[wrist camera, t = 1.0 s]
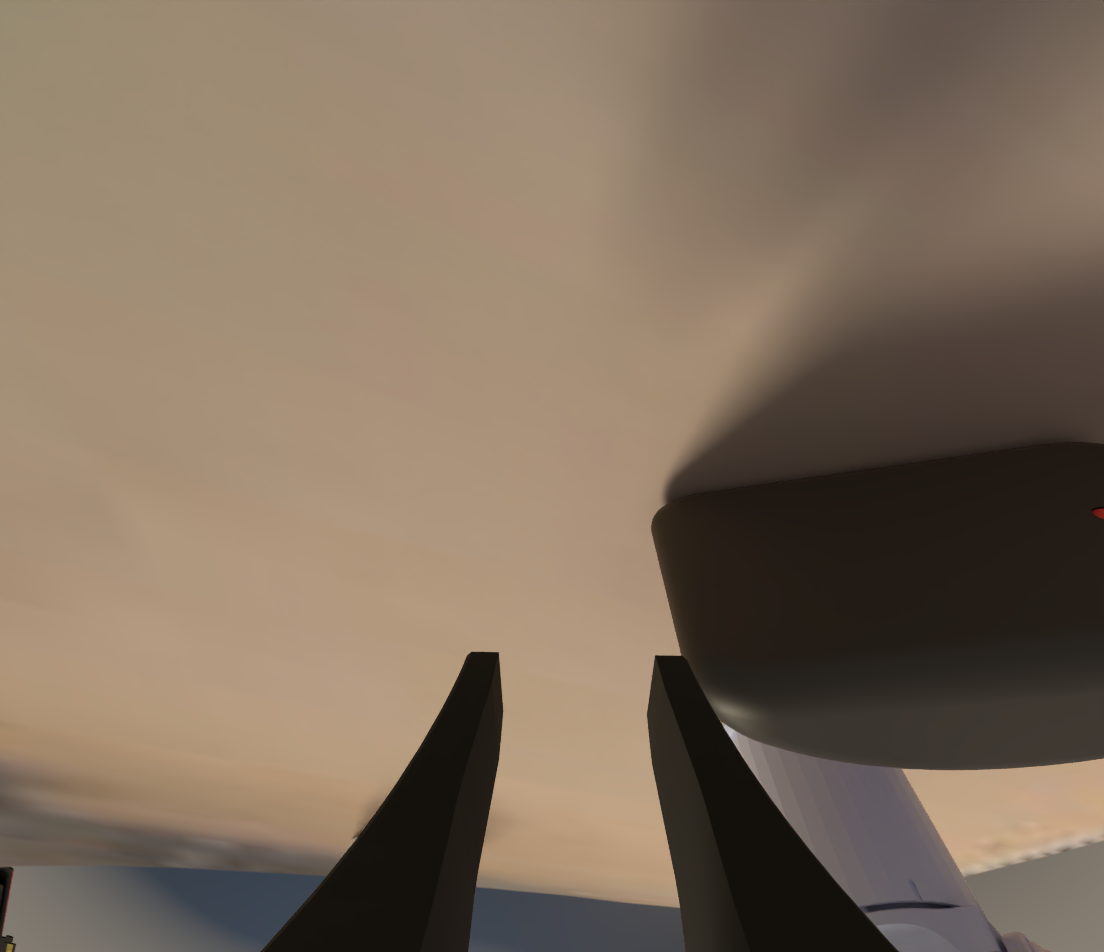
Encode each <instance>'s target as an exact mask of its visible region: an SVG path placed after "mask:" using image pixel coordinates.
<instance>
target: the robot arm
mask: <svg viewBox="0 0 1104 952" xmlns="http://www.w3.org/2000/svg"><path fill="white" fill-rule="evenodd" d="M502 719H503V702H502V689H501V676H500V663H499V652H471V653H470V654H468V655H467V657H466V660H465V662H464V665H463V667H462V669H461V671H460V673H459V676H458V678H457V680H456V682H455V684H454V686H453V688H452V690H451V692H450V694H449V696H448V698H447V700H446V702H445V704H444V705H443V707H442V709H441V711H440V713H439V715H438V716H437V718H436V720H435V722H434V723H433V725H432V727H431V729H430V730H429V732H428V734H427V736H426V737H425V739H424V741H423V742H422V744H421V746H420V747H419V749H418V751H417V752H416V754H415V755H414V757H413V758H412V760H411V761H410V763H409V765H408V766H407V768H406V769H405V771H404V772H403V774H402V775H401V777H400V779H399V780H398V782H397V783H396V785H395V786H394V788H393V789H392V791H391V792H390V793H389V795H388V796H387V798H386V799H385V801H384V802H383V804H382V805H381V806H380V808H379V809H378V811H377V812H376V813H375V815H374V816H373V817H372V819H371V820H370V821H369V823H368V824H367V826H366V827H365V828H364V830H363V831H362V832H361V834H360V835H359V836H358V838H357V839H356V840H355V841H354V843H353V844H352V845H351V846H350V848H349V849H348V850H347V852H346V853H345V854H344V855H343V857H342V858H341V859H340V860H339V862H338V863H337V864H336V866H335V867H334V868H333V869H332V871H331V872H330V873H329V874H328V875H327V877H326V878H325V879H324V880H323V882H322V883H321V884H320V885H319V886H318V887H317V889H316V890H315V891H314V892H313V893H312V895H311V896H310V897H309V898H308V899H307V900H306V901H305V902H304V904H303V905H302V906H301V907H300V908H299V909H298V910H297V912H296V913H295V914H294V915H293V916H292V917H291V918H290V919H289V921H288V922H287V923H286V924H285V925H284V926H283V927H282V928H281V930H280V931H279V932H278V933H277V934H276V935H275V936H274V937H273V939H272V940H271V941H270V942H269V943H268V944H267V946H265V948H264V949H263V950H262V951H261V952H468V947H469V939H470V929H471V920H472V910H473V902H474V894H475V888H476V881H477V875H478V869H479V863H480V858H481V853H482V847H483V842H484V837H485V831H486V826H487V821H488V815H489V810H490V805H491V799H492V794H493V788H494V783H495V778H496V772H497V767H498V761H499V752H500V742H501V731H502ZM647 719H648V729H649V739H650V749H651V758H652V765H653V770H654V775H655V780H656V785H657V790H658V795H659V800H660V805H661V810H662V815H663V820H664V825H665V830H666V835H667V839H668V844H669V849H670V854H671V859H672V864H673V869H674V874H675V879H676V885H677V891H678V897H679V902H680V910H681V918H682V926H683V933H684V942H685V950H686V952H1050V951H1049V950H1047V949H1045V948H1043V947H1042V946H1040V945H1038V944H1036V943H1035V942H1030V941H1029V940H1028V939H1027V937H1026V936H1025V935H1024V934H1022V933H1020V932H1012V933H1008V934H1004V935H1003V937H1002V936H1001V935H1000V933H999V932H998V931H997V930H996V929H995V928H994V926H993V925H992V924H991V923H990V922H989V920H988V919H987V917H986V916H985V914H984V912H983V910H982V909H981V907H980V905H979V903H978V902H977V900H976V898H975V896H974V895H973V893H972V891H971V889H970V888H969V886H968V884H967V882H966V881H965V879H964V877H963V875H962V874H961V872H960V870H959V868H958V867H957V865H956V863H955V861H954V860H953V858H952V856H951V854H950V853H949V851H948V849H947V847H946V846H945V844H944V842H943V840H942V839H941V837H940V835H939V833H938V832H937V830H936V828H935V826H934V825H933V823H932V821H931V819H930V818H929V816H928V814H927V812H926V811H925V809H924V807H923V805H922V804H921V802H920V800H919V798H918V797H917V795H916V793H915V791H914V790H913V788H912V786H911V784H910V783H909V781H908V779H907V777H906V776H905V774H904V772H903V770H902V769H901V768H891V767H879V766H868V765H861V764H853V763H845V762H839V761H833V760H827V759H822V758H817V757H812V756H807V755H803V754H799V753H795V752H791V751H787V750H783V749H780V748H776V747H773V746H770V745H766V744H763V743H761V742H758V741H755V740H752V739H750V738H748V737H746V736H744V735H742V734H740V733H738V732H736V731H735V730H733V729H731V728H730V727H728V726H727V725H726V724H724V723H723V725H722V724H721V722H720V720H719V719H718V717H717V715H716V714H715V712H714V710H713V708H712V707H711V705H710V703H709V701H708V700H707V698H706V696H705V694H704V692H703V690H702V689H701V687H700V685H699V683H698V681H697V679H696V677H695V675H694V673H693V671H692V669H691V667H690V665H689V663H688V661H687V659H685V658H684V657H683V656H657V655H655V661H654V668H653V675H652V682H651V690H650V697H649V704H648V711H647Z"/></svg>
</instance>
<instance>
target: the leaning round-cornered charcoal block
mask: <svg viewBox="0 0 1104 952" xmlns="http://www.w3.org/2000/svg"><path fill="white" fill-rule="evenodd" d="M651 530H652V536H653V540H654V544H655V548H656V552H657V556H658V560H659V565H660V569H661V573H662V577H663V581H664V585H665V589H666V594H667V598H668V602H669V606H670V610H671V614H672V618H673V623H674V627H675V631H676V635H677V639H678V643H679V647H680V652H681V656H683V657H684V658H685V659H687V661H688V663H689V665H690V667H691V669H692V671H693V673H694V675H695V677H696V679H697V681H698V683H699V685H700V687H701V689H702V690H703V692H704V694H705V696H706V698H707V700H708V701H709V703H710V705H711V707H712V708H713V710H714V712H715V714H716V715H717V717H718V719H719V720H720V721H721V722H723V723H724V724H726V725H727V726H728V727H730V728H731V729H733V730H735V731H736V732H738V733H740V734H742V735H744V736H746V737H748V738H750V739H752V740H755V741H758V742H761V743H763V744H766V745H770V746H773V747H776V748H780V749H783V750H787V751H791V752H795V753H799V754H803V755H807V756H812V757H817V758H822V759H827V760H833V761H839V762H845V763H853V764H861V765H868V766H879V767H891V768H903V769H925V770H982V769H1007V768H1021V767H1034V766H1046V765H1055V764H1064V763H1073V762H1082V761H1089V760H1096V759H1103V758H1104V444H1099V443H1086V442H1066V443H1054V444H1047V445H1040V446H1033V447H1026V448H1019V449H1012V450H1005V451H998V452H991V453H984V454H977V455H970V456H963V457H956V458H949V459H942V460H935V461H928V462H921V463H914V464H907V465H900V466H893V467H886V468H879V469H872V470H865V471H858V472H851V473H844V474H837V475H830V476H823V477H816V478H809V479H802V480H795V481H788V482H781V483H774V484H767V485H760V486H753V487H746V488H739V489H732V490H725V491H718V492H711V493H705V494H698V495H691V496H687V497H683V498H680V499H677V500H675V501H673V502H671V503H669V504H667V505H665V506H664V507H662V508H661V509H660V510H659V511H658V512H657V513H656V514H655V516H654V518H653V520H652V525H651Z"/></svg>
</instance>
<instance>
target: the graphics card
mask: <svg viewBox="0 0 1104 952" xmlns="http://www.w3.org/2000/svg"><path fill="white" fill-rule="evenodd" d="M13 873H14V869H13V868H12V867H0V952H15V948H16V944H15V943H12V942H13V938H14V937H12V936H10V935H6V937H4V936H2V934H3V928H4V923H5V917H6V912H7V906H8V900H9V895H10V889H11V884H12V878H13Z"/></svg>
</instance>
